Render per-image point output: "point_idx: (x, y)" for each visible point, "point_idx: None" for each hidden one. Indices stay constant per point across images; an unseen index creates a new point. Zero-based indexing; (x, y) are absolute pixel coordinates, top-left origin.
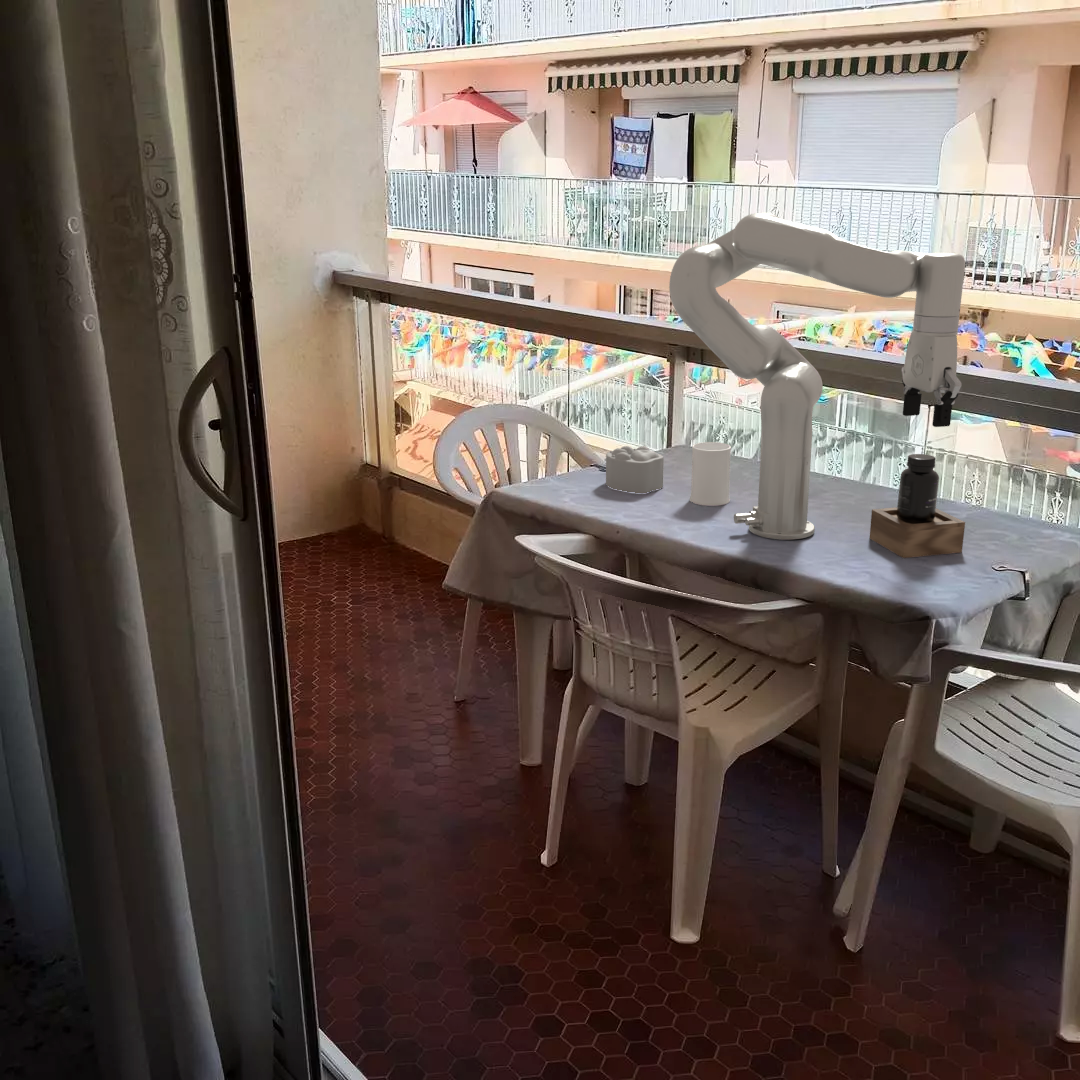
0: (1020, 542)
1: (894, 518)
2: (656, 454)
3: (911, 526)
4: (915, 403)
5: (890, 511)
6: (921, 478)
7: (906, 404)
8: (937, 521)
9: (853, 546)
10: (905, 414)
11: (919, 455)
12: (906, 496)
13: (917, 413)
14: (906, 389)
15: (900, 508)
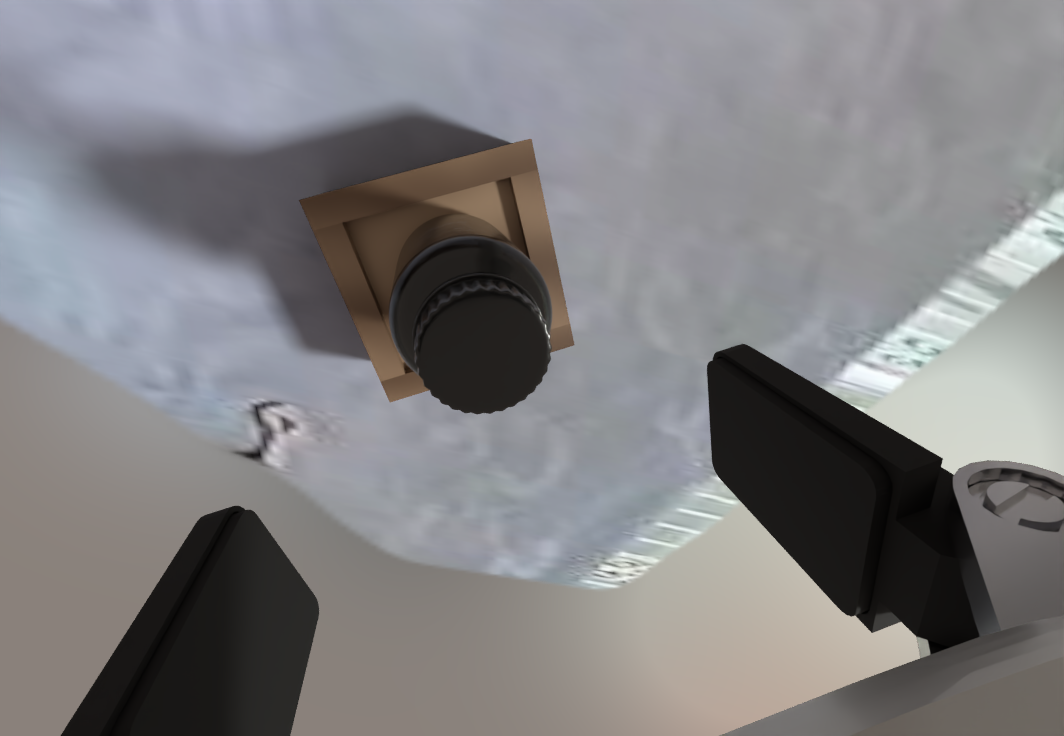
0: (479, 494)
1: (417, 191)
2: None
3: (318, 224)
4: (780, 501)
5: (516, 206)
6: (392, 310)
7: (782, 411)
8: None
9: (432, 58)
10: (710, 362)
11: (512, 349)
12: (417, 240)
13: (719, 462)
14: (1016, 530)
15: (439, 220)
